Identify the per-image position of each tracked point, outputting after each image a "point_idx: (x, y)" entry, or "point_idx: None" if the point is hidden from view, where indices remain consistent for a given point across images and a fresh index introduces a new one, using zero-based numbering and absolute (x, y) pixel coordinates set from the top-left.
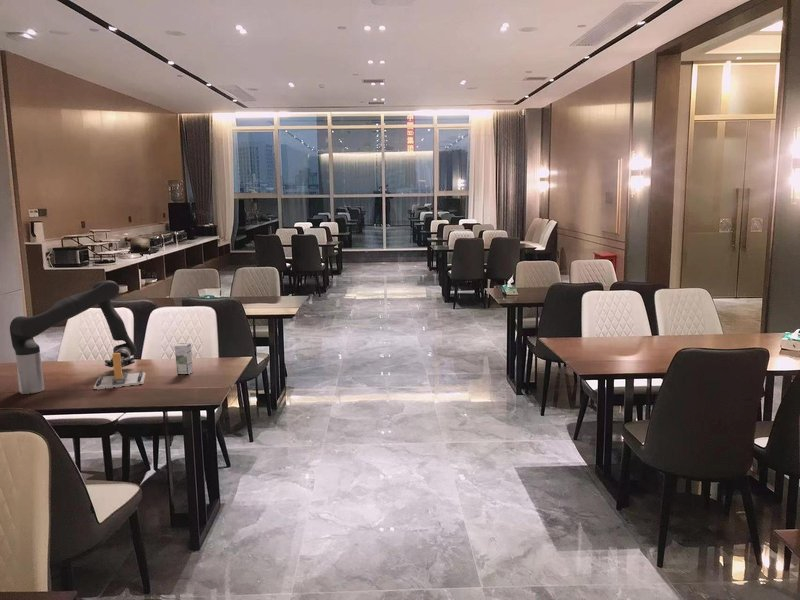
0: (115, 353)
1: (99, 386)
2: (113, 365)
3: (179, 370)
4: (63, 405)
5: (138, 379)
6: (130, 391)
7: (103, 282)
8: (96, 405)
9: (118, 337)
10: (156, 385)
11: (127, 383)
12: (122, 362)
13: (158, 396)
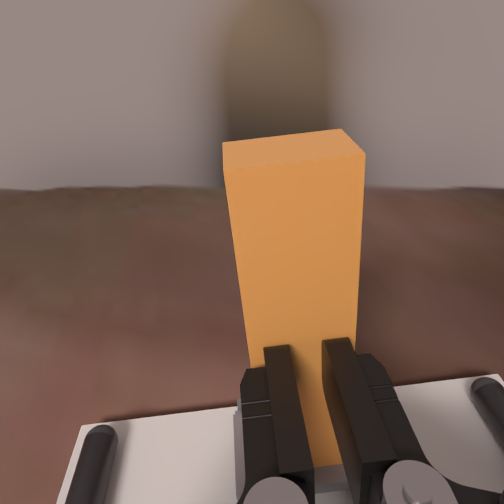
0: (306, 151)
1: (452, 382)
2: (380, 375)
3: None
4: (462, 203)
5: (106, 426)
6: (190, 306)
7: None
8: None
9: None
10: (8, 385)
11: (213, 410)
12: (252, 480)
13: (76, 234)
